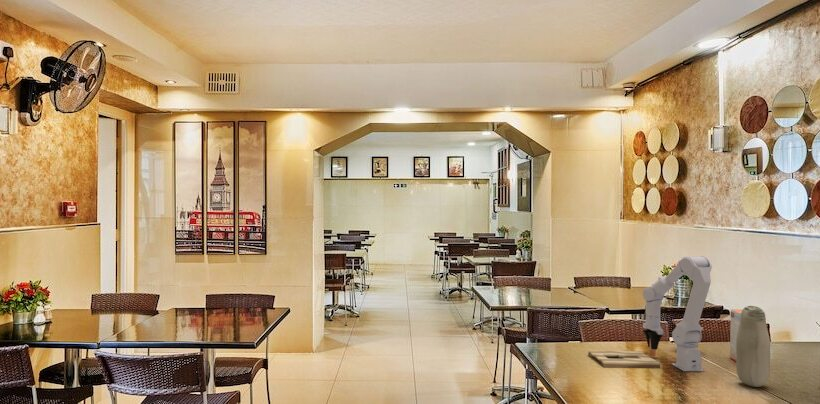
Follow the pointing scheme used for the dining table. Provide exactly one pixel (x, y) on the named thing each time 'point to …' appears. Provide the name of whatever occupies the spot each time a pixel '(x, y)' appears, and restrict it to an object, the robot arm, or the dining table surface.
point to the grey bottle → (753, 348)
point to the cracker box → (734, 331)
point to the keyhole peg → (652, 353)
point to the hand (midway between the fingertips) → (652, 348)
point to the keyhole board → (624, 359)
